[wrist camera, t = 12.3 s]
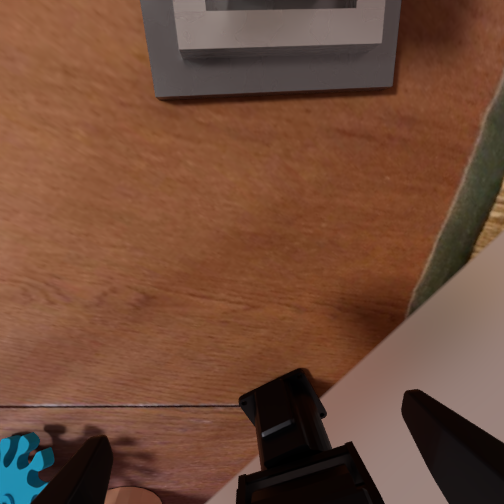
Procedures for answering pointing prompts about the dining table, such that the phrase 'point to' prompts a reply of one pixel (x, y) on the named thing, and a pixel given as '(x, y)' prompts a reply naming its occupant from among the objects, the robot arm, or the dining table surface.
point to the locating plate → (269, 46)
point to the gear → (22, 469)
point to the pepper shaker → (131, 496)
